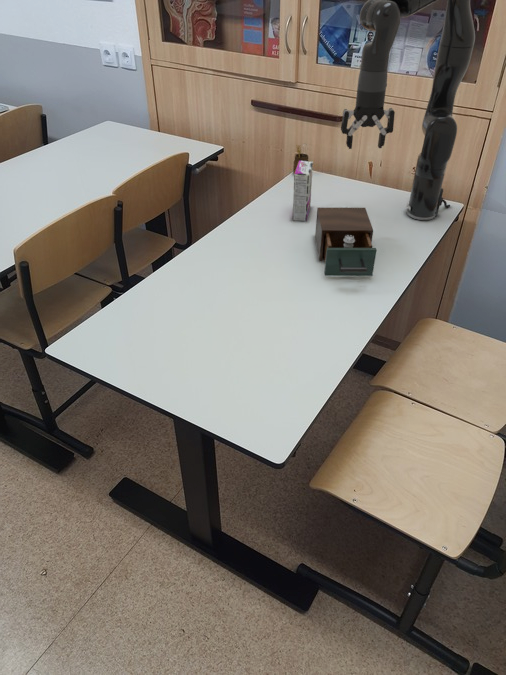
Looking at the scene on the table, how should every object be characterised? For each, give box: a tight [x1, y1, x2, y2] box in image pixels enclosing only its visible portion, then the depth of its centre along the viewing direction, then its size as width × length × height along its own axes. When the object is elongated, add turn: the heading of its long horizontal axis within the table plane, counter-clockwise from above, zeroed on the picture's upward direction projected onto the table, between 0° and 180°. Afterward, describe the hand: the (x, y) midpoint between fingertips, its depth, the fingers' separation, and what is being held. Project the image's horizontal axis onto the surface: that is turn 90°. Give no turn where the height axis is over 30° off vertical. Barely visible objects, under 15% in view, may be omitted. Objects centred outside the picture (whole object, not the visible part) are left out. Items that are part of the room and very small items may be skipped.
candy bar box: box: [292, 160, 314, 222], centre depth 176 cm, size 11×5×16 cm, turn 168°
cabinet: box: [314, 207, 374, 262], centre depth 160 cm, size 15×15×10 cm
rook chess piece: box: [343, 235, 355, 248], centre depth 151 cm, size 4×4×8 cm
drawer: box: [323, 233, 377, 277], centre depth 150 cm, size 19×13×8 cm
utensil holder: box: [292, 144, 309, 174], centre depth 205 cm, size 6×6×12 cm
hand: (364, 147), depth 153 cm, fingers open, 8 cm apart
